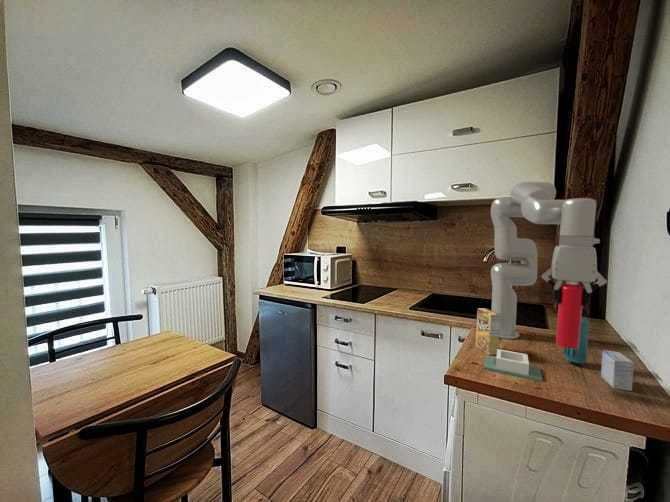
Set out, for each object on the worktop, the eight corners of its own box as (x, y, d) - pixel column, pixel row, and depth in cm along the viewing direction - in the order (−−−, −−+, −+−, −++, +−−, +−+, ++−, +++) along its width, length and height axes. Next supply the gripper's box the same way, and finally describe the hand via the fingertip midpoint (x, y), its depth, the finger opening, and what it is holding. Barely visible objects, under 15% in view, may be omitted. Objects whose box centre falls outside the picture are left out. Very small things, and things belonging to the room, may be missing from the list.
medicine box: (632, 392, 85) (634, 362, 85) (612, 388, 87) (614, 359, 86) (618, 379, 93) (620, 352, 92) (600, 376, 94) (602, 349, 94)
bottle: (572, 349, 85) (578, 280, 83) (551, 342, 90) (556, 277, 88) (582, 346, 87) (588, 279, 85) (562, 340, 92) (567, 276, 90)
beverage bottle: (587, 363, 103) (591, 306, 102) (586, 370, 99) (590, 310, 97) (563, 358, 108) (567, 303, 106) (561, 363, 103) (565, 306, 102)
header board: (485, 358, 107) (485, 346, 107) (539, 368, 99) (539, 356, 99) (483, 369, 98) (484, 356, 98) (542, 381, 90) (543, 367, 90)
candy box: (474, 346, 118) (476, 308, 117) (484, 345, 119) (486, 307, 118) (488, 355, 109) (490, 314, 108) (499, 355, 110) (501, 314, 109)
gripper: (611, 242, 85) (605, 305, 86) (538, 240, 93) (534, 297, 95) (619, 244, 78) (613, 311, 80) (540, 241, 87) (536, 302, 88)
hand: (570, 303), depth 87 cm, fingers closed on bottle, 5 cm apart
